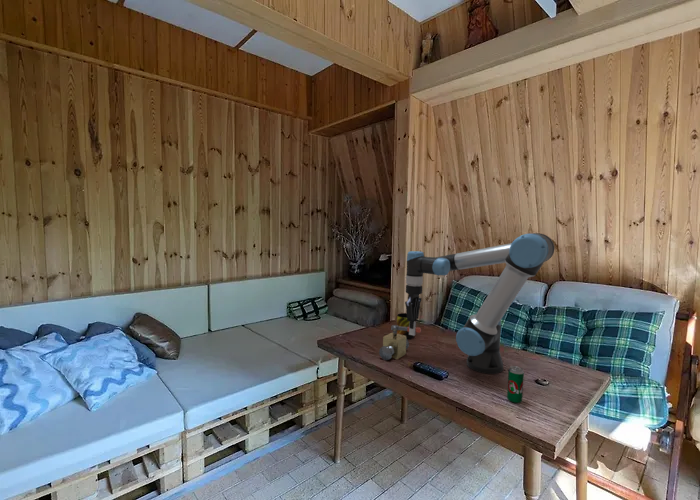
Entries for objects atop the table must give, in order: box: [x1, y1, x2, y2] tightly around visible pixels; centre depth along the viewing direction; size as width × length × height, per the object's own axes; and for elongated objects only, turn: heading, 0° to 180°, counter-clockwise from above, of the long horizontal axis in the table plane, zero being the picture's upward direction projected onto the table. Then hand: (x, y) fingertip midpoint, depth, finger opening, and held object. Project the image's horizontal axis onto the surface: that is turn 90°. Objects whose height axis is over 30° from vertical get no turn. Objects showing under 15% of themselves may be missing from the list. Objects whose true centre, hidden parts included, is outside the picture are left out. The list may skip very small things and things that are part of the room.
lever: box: [390, 324, 422, 336], centre depth 162 cm, size 14×4×5 cm, turn 75°
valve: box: [378, 332, 410, 361], centre depth 164 cm, size 17×8×9 cm, turn 142°
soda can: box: [506, 365, 525, 404], centre depth 123 cm, size 5×5×12 cm
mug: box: [396, 312, 415, 341], centre depth 191 cm, size 10×14×12 cm
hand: (412, 334), depth 159 cm, fingers closed
